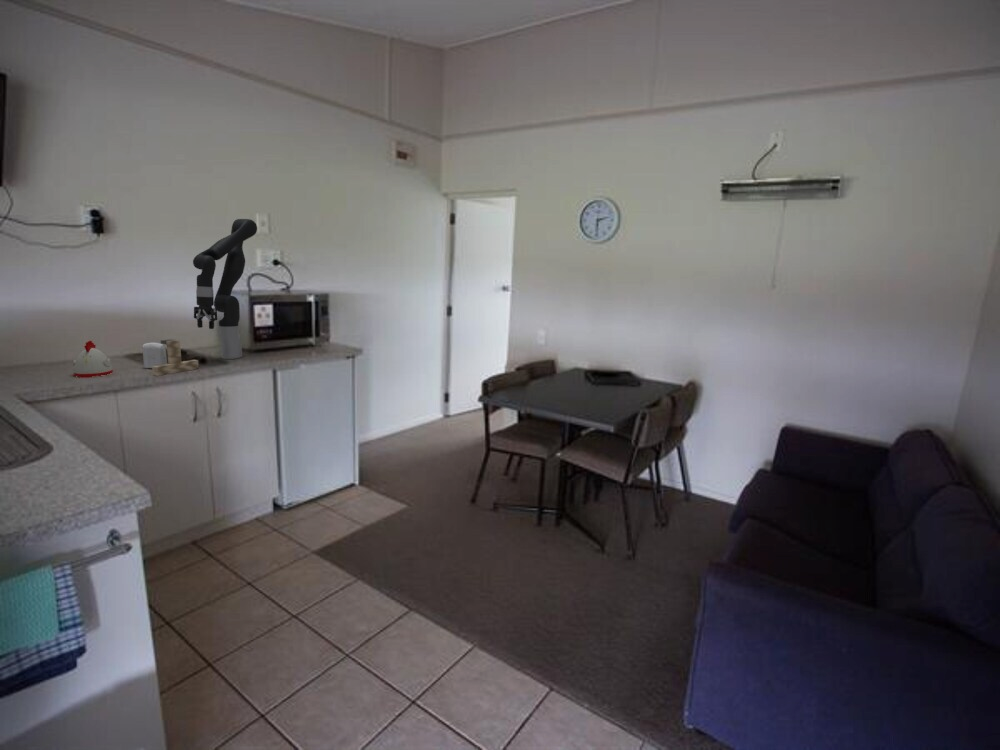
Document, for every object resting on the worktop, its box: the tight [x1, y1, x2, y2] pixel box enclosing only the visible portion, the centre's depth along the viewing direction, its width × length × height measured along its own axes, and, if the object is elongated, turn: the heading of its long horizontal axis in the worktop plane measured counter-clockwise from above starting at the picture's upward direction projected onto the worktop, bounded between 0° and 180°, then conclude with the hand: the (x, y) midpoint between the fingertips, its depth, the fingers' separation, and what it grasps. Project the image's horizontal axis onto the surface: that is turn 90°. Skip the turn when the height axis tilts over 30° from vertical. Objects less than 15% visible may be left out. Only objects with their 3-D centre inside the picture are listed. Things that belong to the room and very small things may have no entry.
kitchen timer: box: [73, 340, 114, 378], centre depth 233 cm, size 14×14×15 cm
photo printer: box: [142, 342, 168, 369], centre depth 249 cm, size 10×4×12 cm, turn 84°
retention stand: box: [151, 338, 200, 377], centre depth 244 cm, size 20×7×14 cm, turn 155°
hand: (205, 328), depth 266 cm, fingers open, 8 cm apart
